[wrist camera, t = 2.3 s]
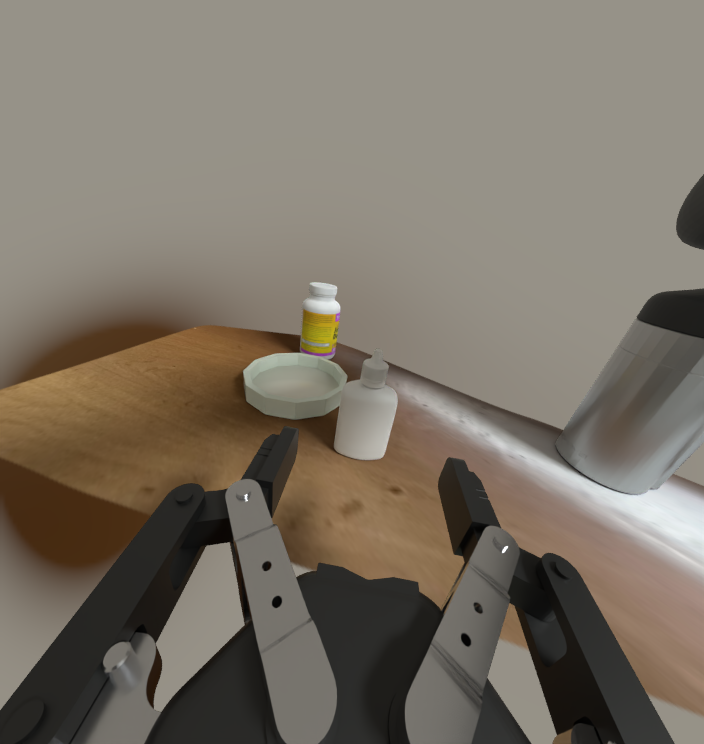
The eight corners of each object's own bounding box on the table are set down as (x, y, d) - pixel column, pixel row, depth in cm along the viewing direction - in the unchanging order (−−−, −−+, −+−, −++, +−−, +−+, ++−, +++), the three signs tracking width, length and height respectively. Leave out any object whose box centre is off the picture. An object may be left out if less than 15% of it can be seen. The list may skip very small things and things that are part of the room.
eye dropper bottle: (348, 428, 32) (364, 336, 27) (389, 450, 30) (416, 354, 24) (326, 447, 29) (339, 346, 23) (370, 474, 26) (397, 368, 21)
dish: (348, 375, 44) (351, 361, 43) (336, 427, 32) (338, 410, 31) (268, 360, 45) (268, 347, 44) (224, 407, 32) (222, 389, 31)
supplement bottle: (336, 363, 48) (345, 291, 42) (298, 360, 47) (302, 286, 41) (333, 348, 54) (341, 284, 48) (300, 346, 52) (304, 279, 47)
